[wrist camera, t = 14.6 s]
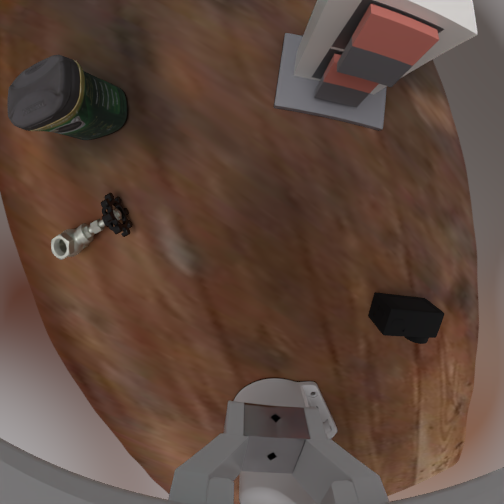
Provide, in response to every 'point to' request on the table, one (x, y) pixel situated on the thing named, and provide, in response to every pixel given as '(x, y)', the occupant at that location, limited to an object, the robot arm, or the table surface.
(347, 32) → the tower
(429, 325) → the digital camera
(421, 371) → the table surface
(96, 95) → the coffee jar
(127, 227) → the valve
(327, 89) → the lower rocker
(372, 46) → the upper rocker
